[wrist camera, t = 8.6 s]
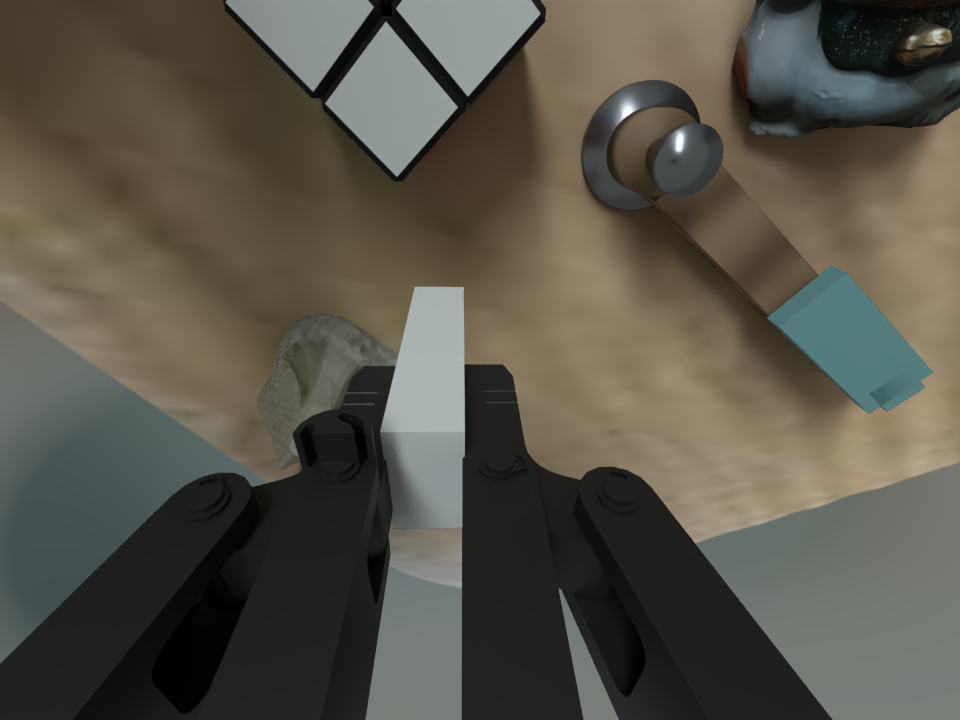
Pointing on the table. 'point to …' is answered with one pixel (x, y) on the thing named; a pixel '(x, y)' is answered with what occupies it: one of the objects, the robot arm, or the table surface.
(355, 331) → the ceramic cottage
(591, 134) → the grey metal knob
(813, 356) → the block
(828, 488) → the table surface
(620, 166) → the walnut link
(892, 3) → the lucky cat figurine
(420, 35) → the puzzle cube
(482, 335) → the table surface
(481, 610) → the robot arm
